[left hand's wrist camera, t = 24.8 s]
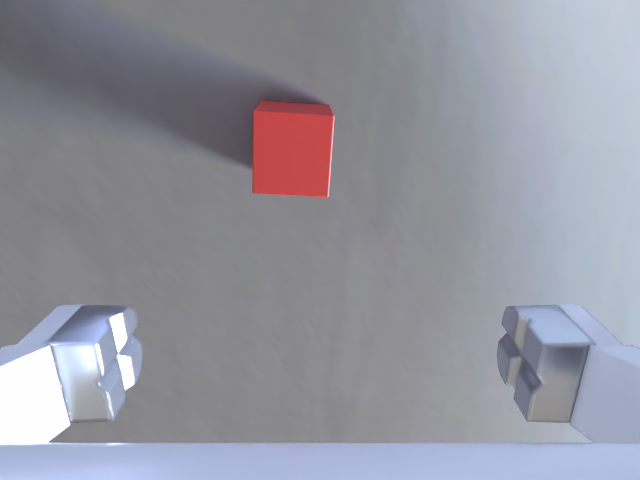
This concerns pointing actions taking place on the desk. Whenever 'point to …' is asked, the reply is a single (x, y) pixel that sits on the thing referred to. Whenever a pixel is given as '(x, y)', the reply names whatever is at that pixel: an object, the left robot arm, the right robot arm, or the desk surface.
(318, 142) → the brick
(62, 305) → the left robot arm
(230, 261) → the desk surface
